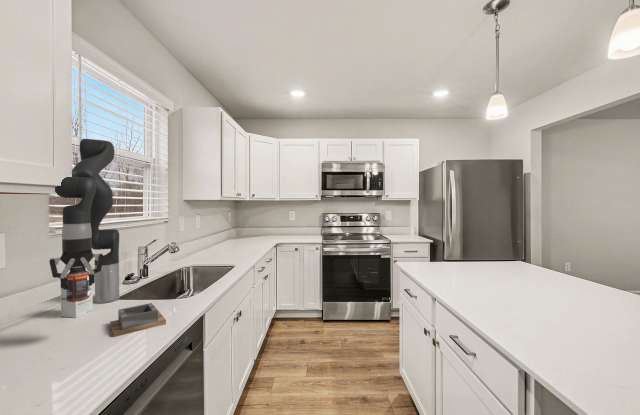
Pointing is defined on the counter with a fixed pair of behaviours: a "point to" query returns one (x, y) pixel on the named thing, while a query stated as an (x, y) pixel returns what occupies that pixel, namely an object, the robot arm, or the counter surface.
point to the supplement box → (75, 305)
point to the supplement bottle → (77, 284)
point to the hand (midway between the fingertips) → (78, 286)
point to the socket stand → (136, 319)
